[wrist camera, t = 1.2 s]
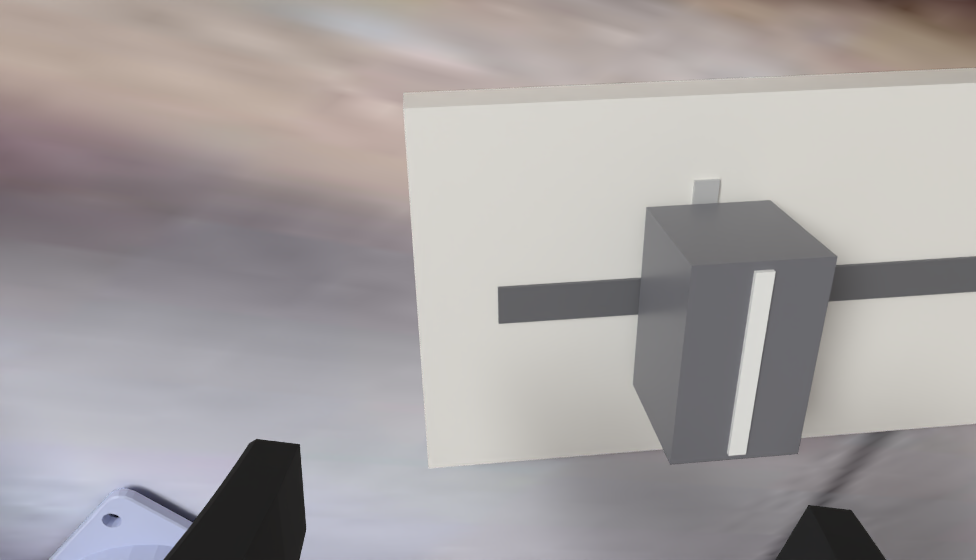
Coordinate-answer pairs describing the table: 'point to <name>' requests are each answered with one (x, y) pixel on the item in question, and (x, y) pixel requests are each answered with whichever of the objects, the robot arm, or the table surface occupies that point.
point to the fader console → (620, 237)
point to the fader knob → (729, 328)
